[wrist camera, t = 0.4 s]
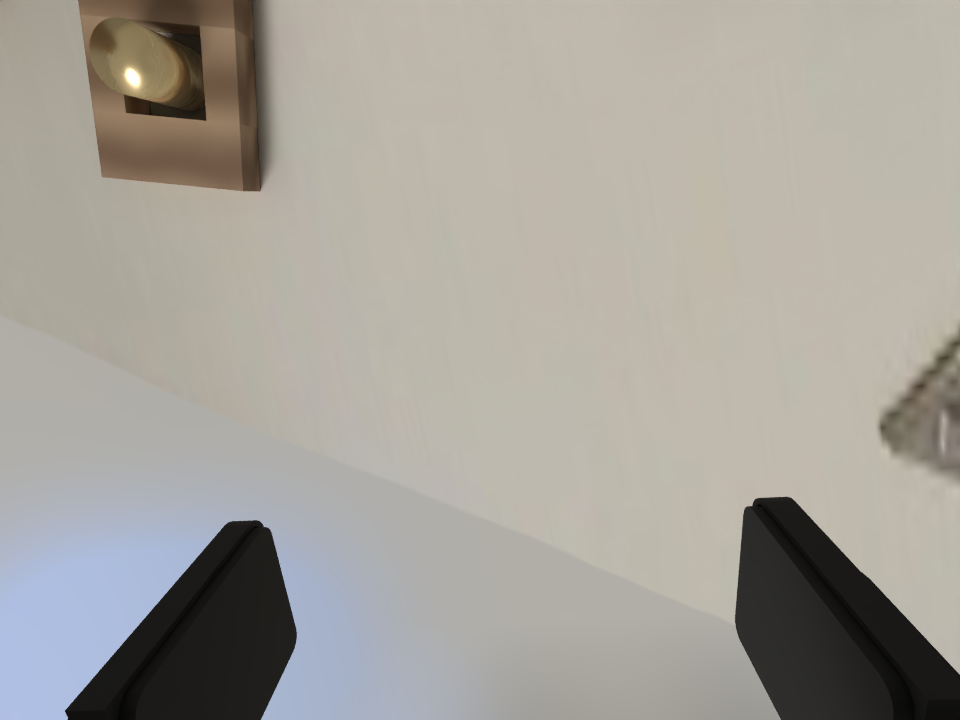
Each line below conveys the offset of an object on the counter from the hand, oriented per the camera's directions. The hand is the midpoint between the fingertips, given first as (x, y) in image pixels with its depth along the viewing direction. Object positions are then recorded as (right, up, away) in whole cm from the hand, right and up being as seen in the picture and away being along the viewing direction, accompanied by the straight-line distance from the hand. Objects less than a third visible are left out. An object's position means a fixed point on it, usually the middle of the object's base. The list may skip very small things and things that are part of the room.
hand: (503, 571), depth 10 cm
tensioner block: (-21, +24, +25) cm, 41 cm away
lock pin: (-21, +24, +25) cm, 41 cm away
